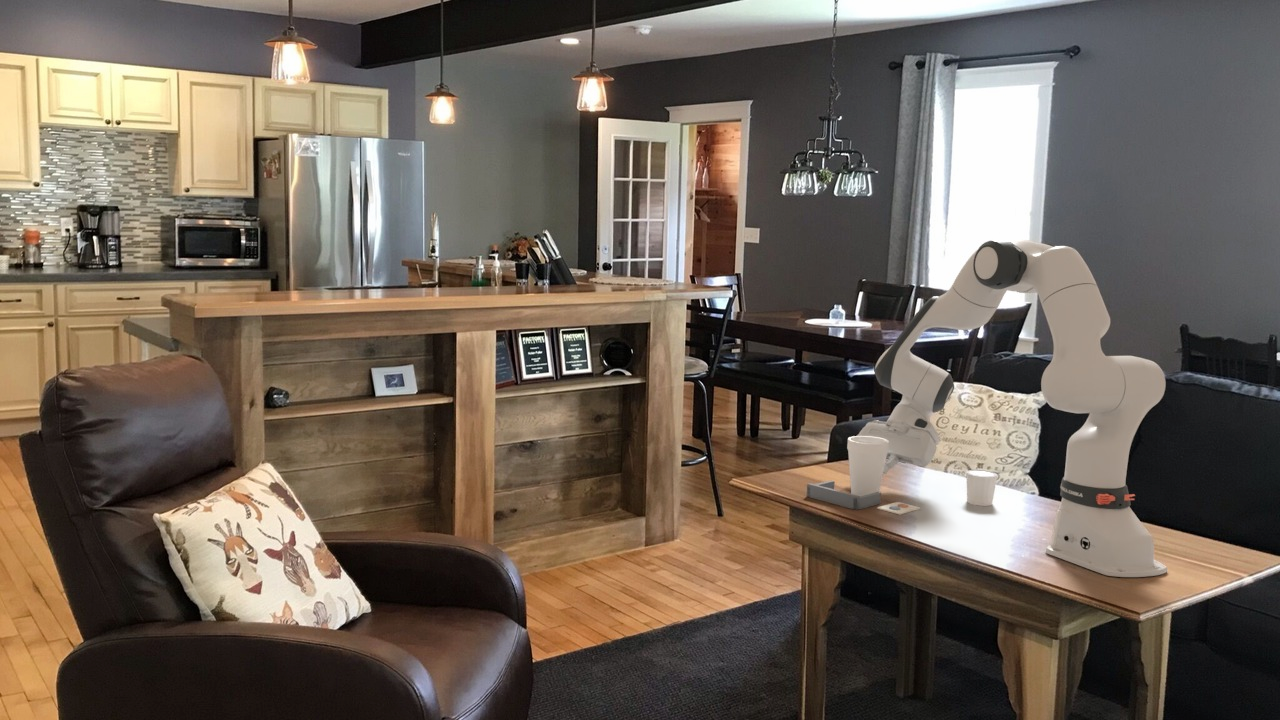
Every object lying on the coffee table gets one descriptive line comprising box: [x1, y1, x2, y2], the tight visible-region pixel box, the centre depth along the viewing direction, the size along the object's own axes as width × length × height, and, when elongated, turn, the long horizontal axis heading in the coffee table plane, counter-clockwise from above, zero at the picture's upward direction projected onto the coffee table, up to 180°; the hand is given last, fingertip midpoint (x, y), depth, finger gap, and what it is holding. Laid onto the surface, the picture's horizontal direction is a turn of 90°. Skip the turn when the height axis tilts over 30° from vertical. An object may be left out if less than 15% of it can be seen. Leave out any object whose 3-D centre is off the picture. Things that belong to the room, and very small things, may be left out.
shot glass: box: [966, 469, 998, 507], centre depth 244 cm, size 7×7×7 cm
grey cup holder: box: [806, 480, 882, 511], centre depth 242 cm, size 9×14×3 cm, turn 43°
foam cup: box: [846, 435, 889, 496], centre depth 248 cm, size 10×9×13 cm
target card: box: [876, 501, 921, 516], centre depth 237 cm, size 8×6×1 cm
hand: (879, 471), depth 251 cm, fingers closed, pressing on foam cup
